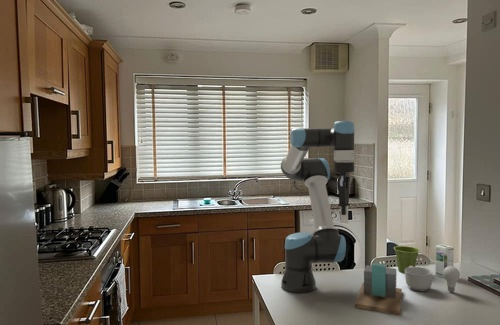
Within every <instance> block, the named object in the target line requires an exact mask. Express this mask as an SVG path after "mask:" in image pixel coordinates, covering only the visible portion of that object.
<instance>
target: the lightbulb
mask: <svg viewBox="0 0 500 325" xmlns="http://www.w3.org/2000/svg"><path fill="white" fill-rule="evenodd" d="M443 275H444V277H445V278H444V279H445V281H446V285H447V286H446V287H447V291H448V292H449V293H454V292H455V290H456V285H457V281H459V279H460V276H461V274H460V271H459V269H458V268H457V267H455V266H454V267H453V266H448V267H446V268H445V269H444V270H443Z"/></svg>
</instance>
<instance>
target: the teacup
mask: <svg viewBox="0 0 500 325" xmlns="http://www.w3.org/2000/svg"><path fill="white" fill-rule="evenodd" d="M404 278H405V283H406V285H407V286H408V287H409V288H410V289H412V290H414V291H418V292H424V291H428V289H430V288H431V287H432V285H433V271H432V269H429V268H427V267H422V266H415V267H413V266H409V267H408V268H406V269H405V273H404Z"/></svg>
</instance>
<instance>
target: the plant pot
mask: <svg viewBox="0 0 500 325" xmlns="http://www.w3.org/2000/svg"><path fill="white" fill-rule="evenodd" d="M393 249H394V253H395V255H396V264H397V270H398V271H399V272H400V273H403V274H405V269H406V268H408V267H409V266H413V267H416V265H417V264H416V263H417V259H418V256H419V253H420V249H419V248H418V247H413V246H407V245H404V246H403V245H396V246H394V247H393Z"/></svg>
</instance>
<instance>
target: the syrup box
mask: <svg viewBox="0 0 500 325" xmlns="http://www.w3.org/2000/svg"><path fill="white" fill-rule="evenodd" d="M454 253H455V247H454V246H451V245H447V244H437V245H435V273H434V274H435V276H437V277H440V278H443V279H445V277H444V275H443V270H444V269H445V268H446V267H448V266H453V267H455V266H454V260H455V257H454V256H455V254H454Z"/></svg>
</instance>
